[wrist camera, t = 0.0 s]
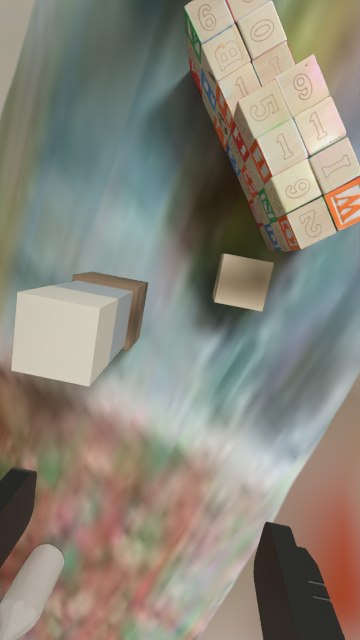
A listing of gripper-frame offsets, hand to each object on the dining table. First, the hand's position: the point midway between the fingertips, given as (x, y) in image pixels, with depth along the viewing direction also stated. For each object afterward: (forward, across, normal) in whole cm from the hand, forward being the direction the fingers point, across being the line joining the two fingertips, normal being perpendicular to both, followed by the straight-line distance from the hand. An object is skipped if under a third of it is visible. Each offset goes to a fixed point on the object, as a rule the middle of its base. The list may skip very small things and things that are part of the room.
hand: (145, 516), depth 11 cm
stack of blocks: (+30, -4, -21) cm, 36 cm away
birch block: (+29, -5, -7) cm, 31 cm away
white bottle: (+30, +14, +40) cm, 52 cm away
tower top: (+17, +9, -1) cm, 20 cm away
